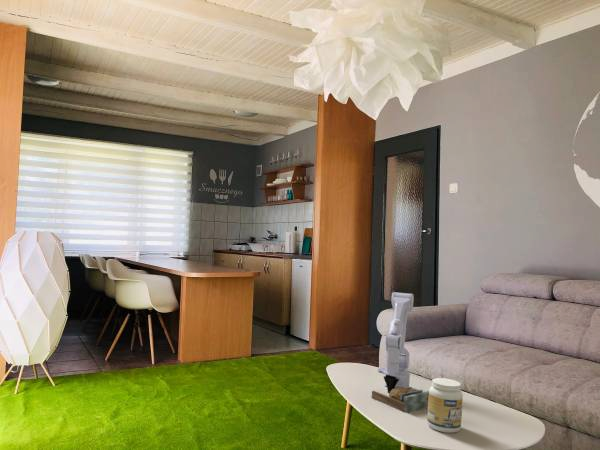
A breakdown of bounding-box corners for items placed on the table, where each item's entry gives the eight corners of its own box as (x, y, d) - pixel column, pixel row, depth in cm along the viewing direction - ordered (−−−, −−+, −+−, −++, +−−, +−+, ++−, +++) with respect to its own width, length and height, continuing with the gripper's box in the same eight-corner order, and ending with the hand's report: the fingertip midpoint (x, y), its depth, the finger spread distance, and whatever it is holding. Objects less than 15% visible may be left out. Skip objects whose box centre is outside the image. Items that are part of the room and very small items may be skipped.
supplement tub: (446, 436, 174) (449, 388, 174) (420, 424, 183) (422, 379, 184) (467, 430, 181) (470, 384, 181) (440, 419, 191) (443, 375, 191)
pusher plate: (420, 402, 208) (421, 389, 208) (421, 403, 207) (422, 390, 207) (399, 407, 200) (400, 394, 200) (401, 408, 199) (401, 394, 199)
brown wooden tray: (397, 392, 220) (398, 379, 220) (432, 406, 205) (432, 391, 205) (371, 398, 210) (372, 384, 211) (406, 412, 195) (407, 397, 195)
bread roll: (386, 409, 208) (384, 394, 205) (394, 393, 216) (392, 379, 213) (409, 415, 203) (407, 399, 200) (416, 398, 211) (415, 383, 208)
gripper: (374, 358, 216) (372, 389, 216) (399, 367, 205) (397, 399, 205) (385, 357, 221) (383, 387, 220) (410, 365, 209) (408, 397, 209)
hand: (390, 393), depth 213 cm, fingers closed
